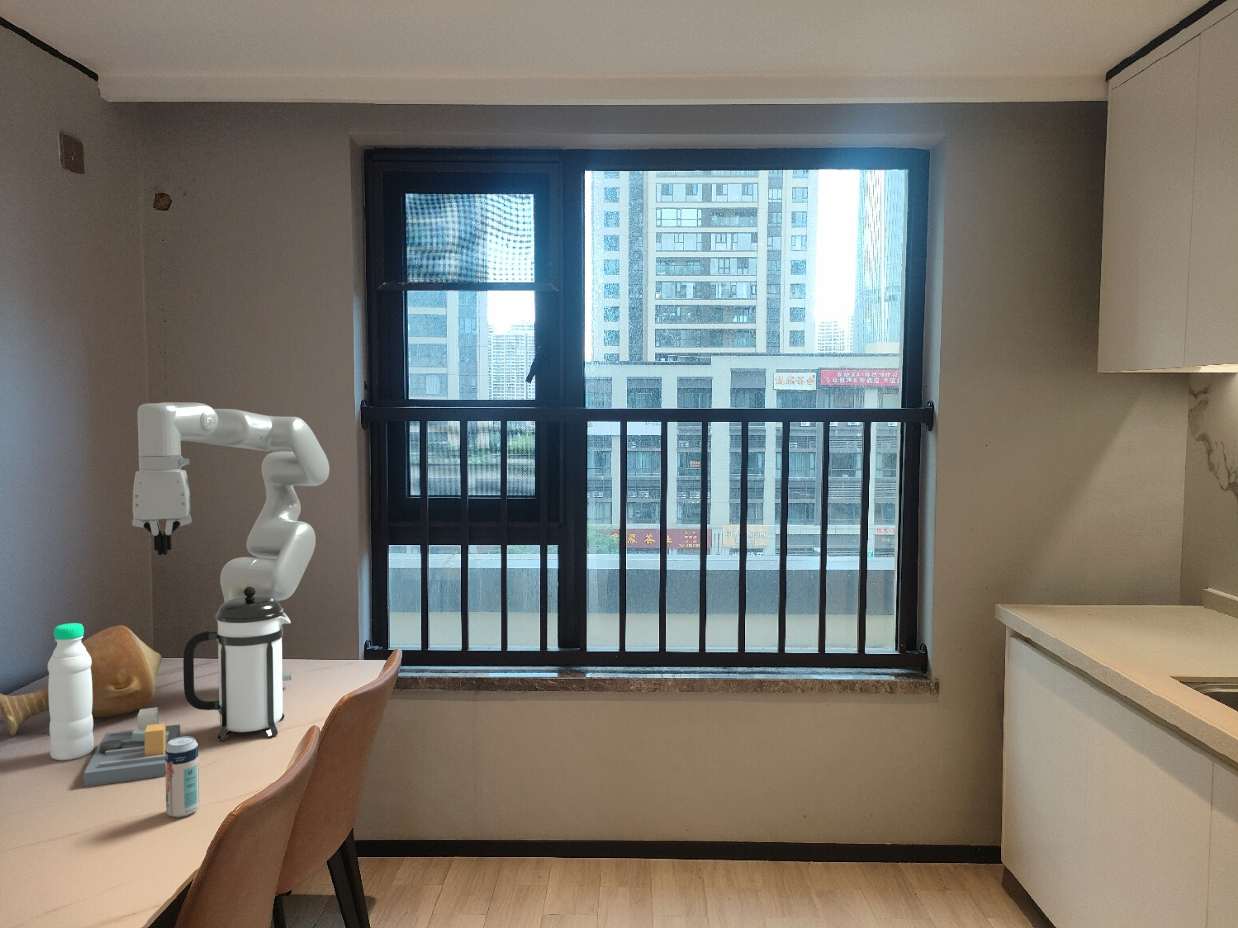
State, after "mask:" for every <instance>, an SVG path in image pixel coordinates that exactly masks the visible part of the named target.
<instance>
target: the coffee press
mask: <svg viewBox="0 0 1238 928" xmlns="http://www.w3.org/2000/svg"><path fill="white" fill-rule="evenodd" d="M255 592H256V591H255V588H253V587H251V586H249V587H246V588H245V590H244V592H243V593H244V594H245V596H247V597H240V598H235V599H232V600H229V601H227V602H225V601H224V602H223V603H222V604H221V605H220V607H219V608H218V609H217V610H218V611H217V612H215V620H216V621H217V631H208V630H207V631H202V632H198V633H197V634H195V635H193V636H192V637H191V638H190V639H189V641H188V642H187V643H186V645H185V646H184V652H183V660H182V661H183V662H182V663H183V666H182V667H183V670H182V671H183V672H182V673H183V674H182V675H183V690H184V691H183V692H184V693H183V694H184V698H185V699H186V702H187V703H188V704H189V705H190V706H191V707H193V709H196V710H201V711H214V710H215V711H217V712H218V714H219V725H220V728H219V731H218V733H217V735H216V740H218V741H222V742H225V741H226V740H228V739H229V736H231V734H233V733H235V732H236V733H249V732H256V731H261V730H263V731H265V733H266V735H267V736H268V738H270V739H271V738H273V737H277V736H278V734H279V730H278V728H277V727H276V724H278V722H279V721H280V722H281V721H283V720H284V719H285V714H284V712H283V707H284V706H283V699H284V698H283V680H282V671H283V636H284V627H283V625H285V624H291V620H290V618H289V617H288V615H287V614H286V613H285V611H284V608H283V607H282V606H281V603H280V601H277V600H275V599H273V598H270V597H264V596H254V595H255ZM210 640H211V641H212V640H216V642H217V651H218V652H217V656H218V659H217V660H218V700H217V699H216V700H202V699H201V698H199V697H198V696H197V694H196V692H195V691H196V690H195V669H194V668H195V667H194V666H195V664H194V660H195V658H194V657H195V656H194V653H195V649H196V647H197V645H198V644H200V643H202V642H206V641H210ZM226 730H227V731H226ZM225 731H226V732H225Z"/></svg>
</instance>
